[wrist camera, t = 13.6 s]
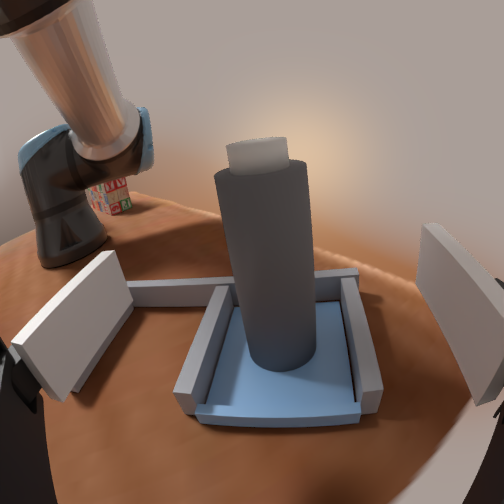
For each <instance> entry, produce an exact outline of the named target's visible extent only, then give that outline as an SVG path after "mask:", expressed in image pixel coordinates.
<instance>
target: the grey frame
mask: <svg viewBox="0 0 504 504" xmlns="http://www.w3.org/2000/svg"><path fill="white" fill-rule="evenodd" d="M314 275H315V301H326V300H339V299H341V307H342V312H343V318H344V323H345V329H346V335H347V340H348V346H349V353H350V359H351V366H352V372H353V379H354V387H355V394H356V402H355V403H354V395H353V387H352V379H351V372H350V365H349V358H348V351H347V345H346V339H345V333H344V327H343V321H342V315H341V310H340V304H339V301H335V302H322V303H316V351H315V354H314V356H313V357H312V359H311V360H310V361H309V362H308V363H306V364H305V365H303V366H302V367H300V368H297V369H295V370H291V371H286V372H274V371H269V370H265V369H263V368H261V367H259V366H258V365H256V364H255V363H254V361H253V360H252V358H251V356H250V353H249V348H248V343H247V339H246V334H245V330H244V325H243V320H242V315H241V311H240V307H234V305H239V301H238V296H237V292H236V287H235V282H234V277H233V276H229V277H210V278H191V279H170V280H146V281H126V283H127V286H128V288H129V291H130V293H131V296H132V298H133V302H132V303H131V304H130V306H129V307H128V308H127V310H126V311H125V312H124V314H123V315H122V317H121V318H120V319H119V321H118V322H117V323H116V325H115V326H114V328H113V329H112V331H111V332H110V333H109V335H108V336H107V338H106V339H105V340H104V342H103V343H102V345H101V346H100V348H99V349H98V351H97V352H96V353H95V355H94V356H93V358H92V359H91V361H90V362H89V364H88V365H87V367H86V368H85V370H84V371H83V373H82V374H81V376H80V377H79V379H78V380H77V382H76V384H75V385H74V387H73V388H72V390H71V391H73V392H77V393H79V391H80V389H81V388H82V386H83V385H84V383H85V381H86V380H87V378H88V377H89V375H90V374H91V372H92V370H93V369H94V367H95V366H96V364H97V363H98V361H99V360H100V358H101V357H102V355H103V354H104V352H105V351H106V349H107V348H108V346H109V345H110V343H111V342H112V340H113V339H114V337H115V336H116V334H117V333H118V331H119V330H120V329H121V327H122V326H123V324H124V323H125V321H126V320H127V318H128V317H129V316H130V314H131V313H132V311H133V310H134V307H194V306H208V307H207V309H206V312H205V314H204V316H203V319H202V321H201V324H200V326H199V328H198V331H197V333H196V336H195V338H194V341H193V343H192V345H191V348H190V350H189V353H188V355H187V358H186V360H185V363H184V365H183V368H182V370H181V373H180V375H179V378H178V380H177V383H176V385H175V388H174V390H173V394H174V395H175V397H176V399H177V401H178V403H179V404H180V406H181V408H182V410H183V411H184V413H185V414H188V415H196V417H197V419H198V421H199V423H203V424H213V425H225V426H241V427H315V426H331V425H343V424H353V423H359V420H360V416H361V415H363V414H371V413H377V411H378V407H379V404H380V401H381V397H382V394H383V390H384V388H383V384H382V379H381V375H380V370H379V366H378V362H377V357H376V353H375V349H374V345H373V341H372V337H371V334H370V330H369V326H368V322H367V319H366V315H365V312H364V308H363V304H362V301H361V298H360V294H359V291H358V290H359V273H358V270H357V268H346V269H334V270H320V271H314ZM233 310H234V311H233ZM232 313H233V314H232ZM231 316H232V317H231ZM230 320H231V321H230ZM229 323H230V324H229ZM228 326H229V327H228ZM227 330H228V331H227ZM226 333H227V334H226ZM225 336H226V338H225ZM224 340H225V341H224ZM223 343H224V344H223ZM222 347H223V348H222ZM221 350H222V351H221ZM220 353H221V355H220ZM219 357H220V358H219ZM218 360H219V361H218ZM217 363H218V365H217ZM216 367H217V368H216ZM215 370H216V371H215ZM214 374H215V375H214ZM213 377H214V378H213ZM212 380H213V382H212ZM211 384H212V385H211ZM210 387H211V388H210ZM209 390H210V392H209ZM208 394H209V395H208ZM207 397H208V399H207ZM206 401H207V402H206Z"/></svg>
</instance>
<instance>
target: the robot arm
mask: <svg viewBox="0 0 504 504" xmlns="http://www.w3.org/2000/svg"><path fill="white" fill-rule="evenodd" d="M9 37H10V38H11V40H12V42H13V43H14V45H15V47H16V48H17V50H18V51H19V53H20V55H21V56H22V58H23V59H24V61H25V62H26V64H27V65H28V67H29V69H30V70H31V72H32V73H33V75H34V76H35V78H36V79H37V81H38V82H39V83H40V85H41V86H42V88H43V89H44V91H45V92H46V94H47V95H48V97H49V98H50V99H51V101H52V103H53V104H54V105H55V107H56V108H57V110H58V111H59V112H60V113H61V115H62V116H63V118H64V119H65V121H66V122H67V123H68V124H62V125H59V126H56V127H54V128H52V129H49V130H46V131H45V132H42V133H41V134H39V135H37V136H35V137H34V138H32V139H31V140H29V141H28V142H27V143H25V144H24V145H23V146H22V148H21V149H20V151H19V153H18V162H19V169H20V176H21V178H22V182H23V185H24V189H25V193H26V196H27V199H28V203H29V206H30V209H31V213H32V215H33V219H34V222H35V226H36V241H37V249H38V251H37V254H38V258H39V260H40V263H41V265H42V266H43V267H45V268H52V267H58V266H61V265H65V264H68V263H70V262H73V261H75V260H78V259H80V258H82V257H84V256H86V255H88V254H89V253H91V252H93V251H94V250H96V249H97V248H99V247H100V246H101V245H102V244H103V243H104V242H105V241H106V239H107V234H106V231H105V227H104V225H103V224H102V223H100V221H99V219H98V218H97V216H96V214H95V213H94V211H93V210H92V208H91V206H90V205H89V204H88V201H87V197H86V194H85V189H88V188H91V187H93V186H97V185H100V184H103V183H106V182H110V181H113V180H116V179H120V178H123V177H127V176H130V175H137V174H139V173H140V172H143V171H147V170H149V169H150V168H151V167H152V166H153V164H154V149H153V145H152V144H153V142H152V132H151V125H150V118H149V113H148V110H147V109H146V108H145V107H142V108H140V107H137V108H136V107H135V105H134V104H132V103H131V102H130V101H128V100H127V99H124V98H123V97H122V94H121V91H120V89H119V86H118V82H117V79H116V76H115V74H114V70H113V67H112V64H111V61H110V58H109V55H108V52H107V49H106V45H105V42H104V39H103V35H102V32H101V29H100V25H99V22H98V18H97V14H96V11H95V7H94V3H93V0H0V38H9ZM415 284H416V285H417V287H418V289H419V290H420V292H421V294H422V296H423V297H424V299H425V301H426V303H427V304H428V306H429V308H430V310H431V312H432V313H433V315H434V317H435V319H436V321H437V323H438V325H439V326H440V328H441V330H442V332H443V334H444V336H445V338H446V340H447V342H448V344H449V346H450V348H451V350H452V352H453V354H454V356H455V359H456V361H457V363H458V365H459V367H460V369H461V372H462V374H463V376H464V378H465V381H466V383H467V385H468V388H469V390H470V393H471V395H472V397H473V400H474V402H475V405H476V406H478V405H481V404H484V403H487V402H490V401H493V400H495V399H496V397H497V396H498V395H499V393H500V392H501V390H502V388H503V387H504V282H502V281H501V280H499V279H497V278H495V279H494V278H493V277H492V276H491V275H490V274H489V273H488V272H487V271H486V269H485V268H484V267H483V266H482V265H481V264H480V263H479V262H478V261H477V260H476V259H475V258H474V257H473V256H472V255H471V254H470V253H469V252H468V251H467V250H466V249H465V248H464V247H463V246H462V245H461V244H460V243H459V242H458V241H457V240H456V239H455V238H454V237H453V236H452V235H451V234H450V233H449V232H447V231H446V230H445V229H444V228H443V227H442V226H441V225H440V224H439V223H425V224H422V230H421V242H420V252H419V261H418V269H417V276H416V283H415ZM132 302H133V298H132V296H131V293H130V291H129V288H128V286H127V283H126V280H125V278H124V275H123V272H122V269H121V267H120V264H119V261H118V258H117V255H116V252H115V250H111V251H102V252H101V253H100V254H99V255H98V256H97V257H96V258H94V259H93V260H92V261H91V262H90V263H89V264H88V265H87V266H86V267H84V268H83V269H82V270H81V271H80V272H79V273H78V274H77V275H76V276H75V277H74V278H73V279H72V280H70V281H69V282H68V283H67V284H66V285H65V286H64V287H63V288H62V289H61V290H60V291H59V292H58V293H57V294H56V295H55V296H54V297H53V298H52V299H51V300H50V301H49V302H48V303H47V304H46V305H45V306H44V307H43V308H42V309H41V310H40V311H39V312H38V313H37V314H36V315H35V316H34V317H33V318H32V319H31V320H30V321H29V322H28V323H27V324H26V326H25V327H24V328H23V329H22V330H21V331H20V332H19V333H18V334H17V335H16V336H15V337H14V339H13V340H12V341H11V344H12V345H11V346H10V347H9V348H7V347H6V345H5V344H4V342H3V341H2V339H1V337H0V504H58V503H57V499H56V495H55V490H54V486H53V481H52V475H51V470H50V464H49V457H48V450H47V442H46V432H45V421H44V405H43V397H42V396H41V394H40V393H39V391H40V389H41V388H43V389H44V391H45V392H46V393H47V394H48V396H49V397H50V398H51V399H54V400H57V401H60V402H64V401H65V399H66V398H67V396H68V394H69V393H70V391H71V390H72V388H73V387H74V385H75V384H76V382H77V380H78V379H79V377H80V376H81V374H82V373H83V371H84V370H85V368H86V367H87V365H88V364H89V362H90V361H91V359H92V358H93V356H94V355H95V353H96V352H97V351H98V349H99V348H100V346H101V345H102V343H103V342H104V340H105V339H106V338H107V336H108V335H109V333H110V332H111V331H112V329H113V328H114V326H115V325H116V323H117V322H118V321H119V319H120V318H121V317H122V315H123V314H124V312H125V311H126V310H127V308H128V307H129V306H130V304H131V303H132ZM499 413H500V415H499V419H498V422H497V425H496V428H495V431H494V433H493V436H492V439H491V442H490V444H489V447H488V450H487V452H486V455H485V457H484V460H483V462H482V464H481V466H480V469H479V471H478V473H477V475H476V478H475V480H474V482H473V484H472V486H471V488H470V490H469V492H468V494H467V496H466V497H465V499H464V501H463V503H462V504H504V401H503V402H502V404H501V405H500V407H499V408H498V410H497V411H496V412H495V414H494V416H493V418H496V417H497V415H498V414H499Z"/></svg>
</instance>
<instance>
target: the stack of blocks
mask: <svg viewBox="0 0 504 504" xmlns="http://www.w3.org/2000/svg"><path fill="white" fill-rule="evenodd" d="M88 190H89V194H90V198H91V201H92V204H93V208H95V209H97V210H99V211H102V212H105V213H107V214H109V215H111V216H112V215H115V214H117V213H120V212H122V211H125V210H127V209H130V208H132V204H131V200H130V197H129V193H128V189H127V184H126V179H125V177H123V178H120V179H116V180H113V181H110V182H106V183H103V184H100V185H97V186H93V187H91V188H88Z"/></svg>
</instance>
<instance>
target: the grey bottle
mask: <svg viewBox="0 0 504 504" xmlns="http://www.w3.org/2000/svg"><path fill="white" fill-rule="evenodd" d="M226 148H227V155H228V161H229V168H226V169H224V170H221V171H219V172H217V173H216V174H215V175H214V179H215V184H216V189H217V195H218V200H219V206H220V211H221V216H222V221H223V227H224V232H225V237H226V242H227V247H228V252H229V257H230V262H231V267H232V272H233V277H234V282H235V287H236V292H237V296H238V301H239V306H240V311H241V315H242V320H243V325H244V330H245V334H246V339H247V343H248V348H249V353H250V356H251V358H252V360H253V361H254V363H255V364H256V365H258V366H259V367H261V368H263V369H265V370H269V371H274V372H286V371H291V370H295V369H297V368H300V367H302V366H303V365H305V364H306V363H308V362H309V361H310V360H311V359H312V357H313V356H314V354H315V351H316V301H315V275H314V255H313V238H312V224H311V210H310V199H309V186H308V176H307V166H306V163H305V162H303V161H299V160H290V159H289V157H288V148H287V140H286V138H285V137H270V138H259V139H252V140H246V141H240V142H236V143H232V144H229V145H227V146H226Z"/></svg>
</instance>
